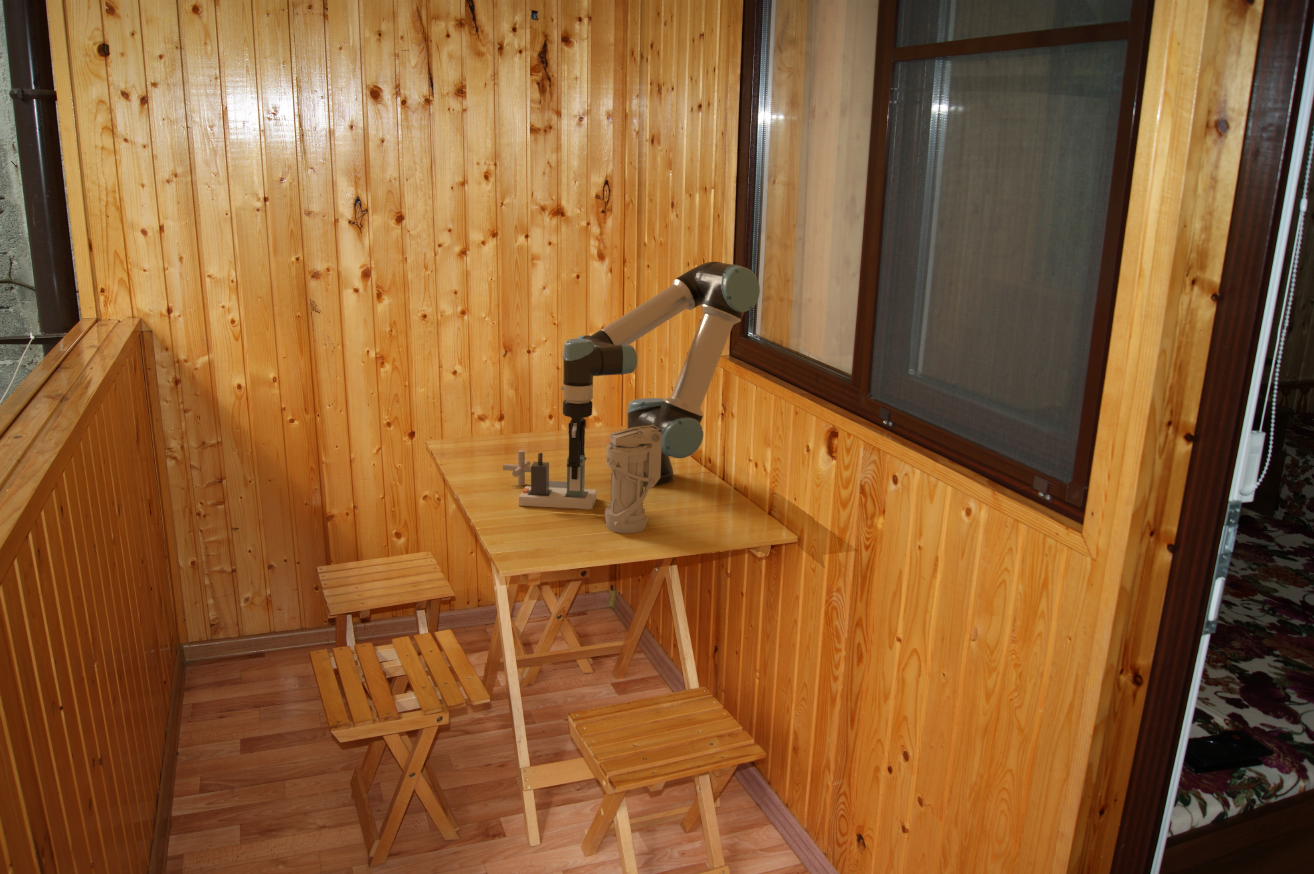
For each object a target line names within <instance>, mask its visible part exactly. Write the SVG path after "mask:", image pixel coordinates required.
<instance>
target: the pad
mask: <svg viewBox="0 0 1314 874" xmlns="http://www.w3.org/2000/svg"><path fill="white" fill-rule="evenodd" d="M549 487H551V488H567V481H558V480H549Z"/></svg>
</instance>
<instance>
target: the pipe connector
mask: <svg viewBox="0 0 1314 874" xmlns="http://www.w3.org/2000/svg"><path fill="white" fill-rule="evenodd" d="M525 453H526V451H525V450H524V449H523V450H522V449H520V450H518V451H517V464H515V463H514V464H513V463H503V466H502V470H503V471H511V472H512V474H511V475H512V476H513V477H515V478H517V485H518V486H525V485H526V479H525V478H526V473H531V466H532V465H531V462H530V460H525V459H526V456H525V455H526V454H525Z"/></svg>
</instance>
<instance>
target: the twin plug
mask: <svg viewBox="0 0 1314 874" xmlns="http://www.w3.org/2000/svg"><path fill="white" fill-rule="evenodd" d="M543 457H544V455H543V452H538V453H537V461H533V463H532V464H531V465H530V466H531V472H530V486H531V495H537V496H549V481H550V462H546V461H545V462H543Z"/></svg>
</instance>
